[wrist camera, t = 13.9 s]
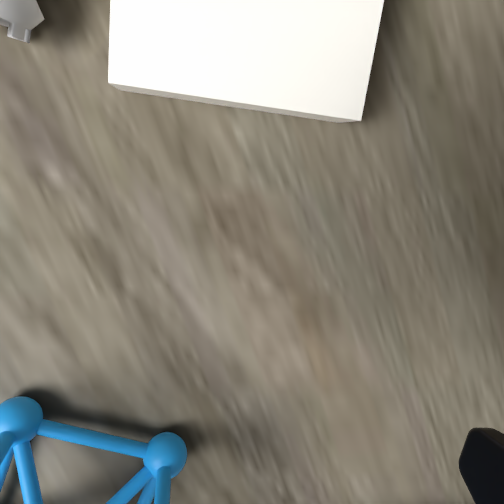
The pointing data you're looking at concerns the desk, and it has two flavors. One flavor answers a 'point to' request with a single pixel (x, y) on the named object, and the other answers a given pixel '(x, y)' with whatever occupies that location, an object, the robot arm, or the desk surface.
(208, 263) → the desk surface
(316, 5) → the off-white block
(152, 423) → the desk surface
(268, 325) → the desk surface
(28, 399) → the molecular structure
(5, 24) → the rook chess piece
